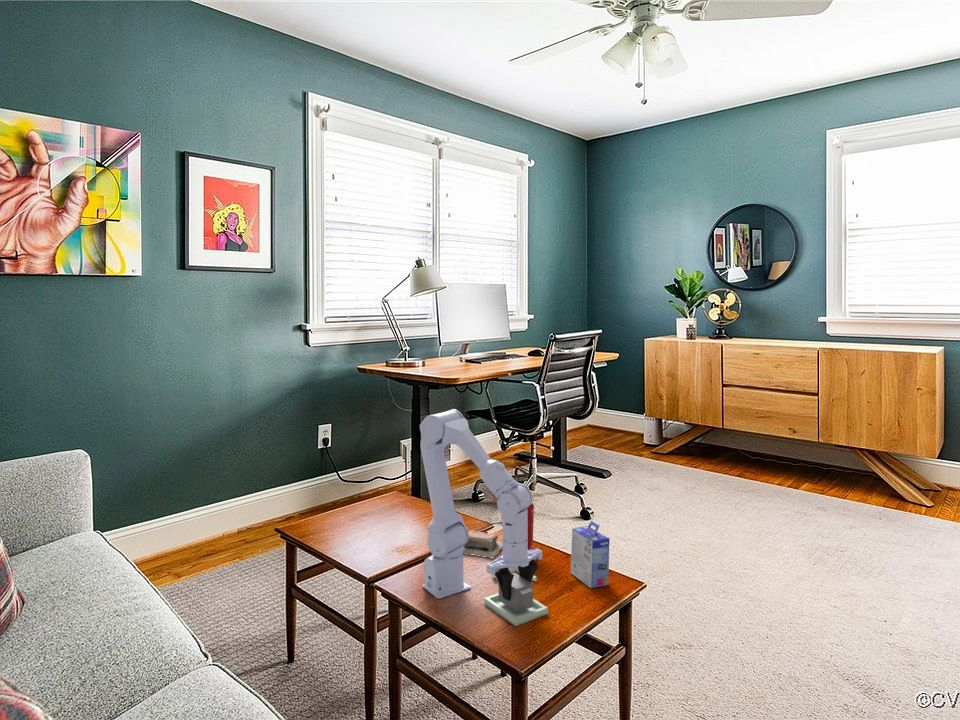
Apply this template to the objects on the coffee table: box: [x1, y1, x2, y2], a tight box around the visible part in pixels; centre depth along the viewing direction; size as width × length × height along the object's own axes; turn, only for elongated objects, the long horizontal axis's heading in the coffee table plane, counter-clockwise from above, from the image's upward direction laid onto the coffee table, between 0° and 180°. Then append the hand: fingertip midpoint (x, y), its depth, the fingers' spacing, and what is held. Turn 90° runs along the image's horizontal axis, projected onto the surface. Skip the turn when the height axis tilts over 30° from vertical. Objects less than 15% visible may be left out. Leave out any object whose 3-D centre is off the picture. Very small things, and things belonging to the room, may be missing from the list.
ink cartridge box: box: [570, 520, 610, 589], centre depth 154 cm, size 10×6×14 cm, turn 24°
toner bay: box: [491, 566, 538, 582], centre depth 155 cm, size 9×8×2 cm
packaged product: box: [463, 529, 503, 558], centre depth 175 cm, size 18×5×10 cm
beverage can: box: [524, 500, 535, 550], centre depth 171 cm, size 6×6×15 cm
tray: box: [484, 592, 549, 627], centre depth 140 cm, size 9×12×2 cm
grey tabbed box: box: [498, 572, 534, 613], centre depth 139 cm, size 5×8×6 cm, turn 34°
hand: (515, 595), depth 140 cm, fingers closed on grey tabbed box, 4 cm apart
